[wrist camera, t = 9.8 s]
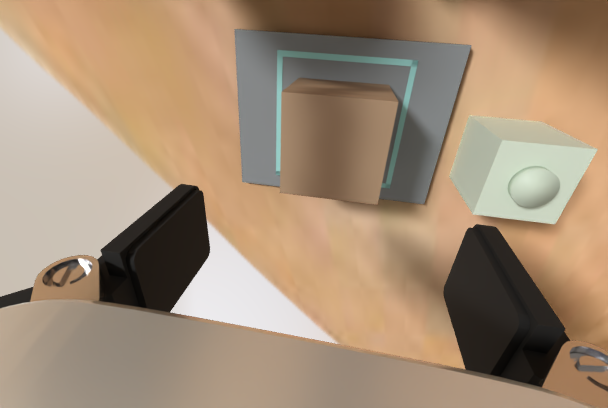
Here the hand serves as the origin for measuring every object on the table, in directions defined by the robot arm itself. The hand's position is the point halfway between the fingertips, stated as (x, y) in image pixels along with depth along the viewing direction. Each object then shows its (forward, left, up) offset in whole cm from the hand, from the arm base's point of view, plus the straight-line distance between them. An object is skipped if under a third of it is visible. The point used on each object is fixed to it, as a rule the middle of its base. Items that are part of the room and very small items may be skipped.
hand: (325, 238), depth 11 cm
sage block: (-12, +1, -16) cm, 19 cm away
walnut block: (0, 0, -15) cm, 15 cm away
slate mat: (0, 0, -15) cm, 15 cm away
